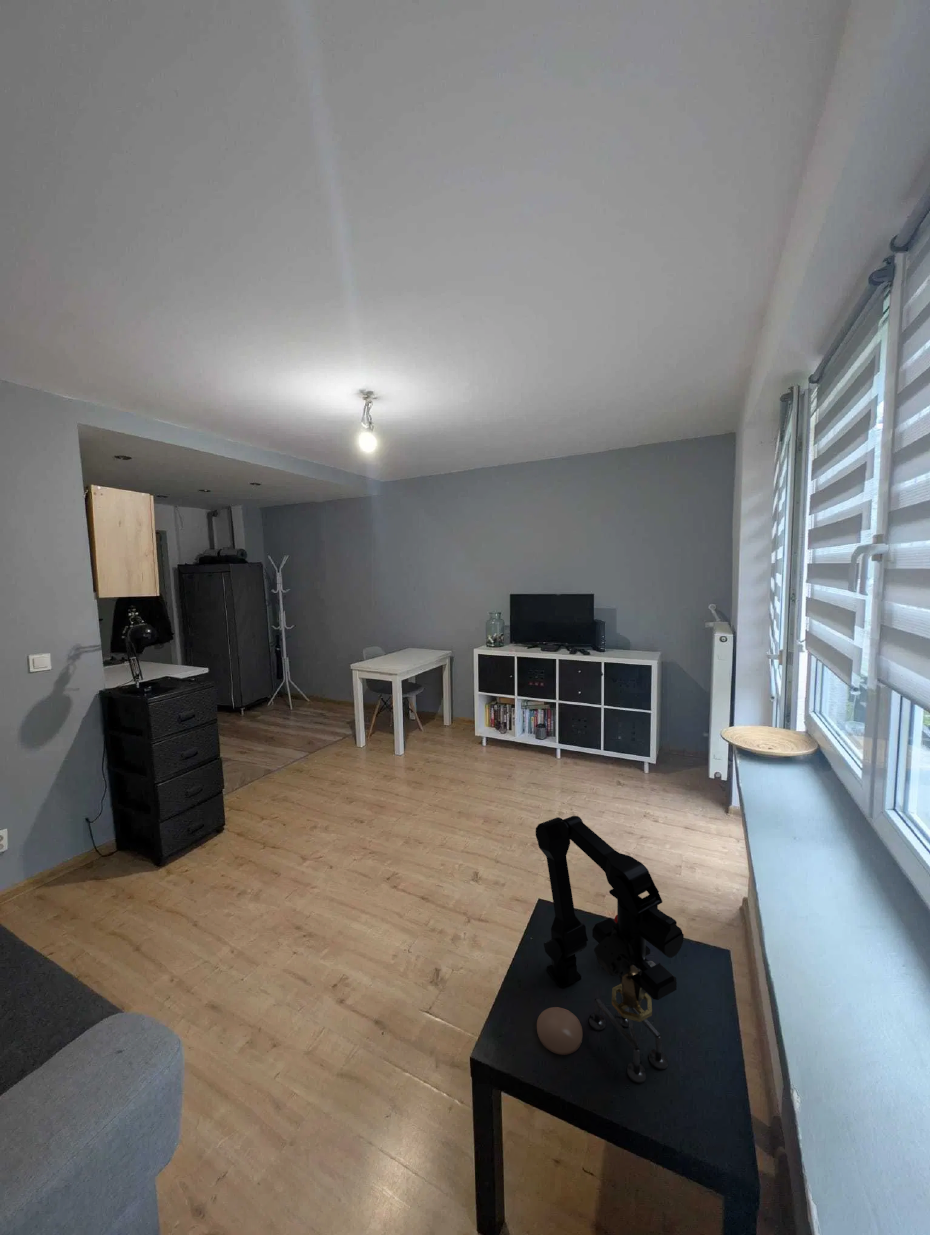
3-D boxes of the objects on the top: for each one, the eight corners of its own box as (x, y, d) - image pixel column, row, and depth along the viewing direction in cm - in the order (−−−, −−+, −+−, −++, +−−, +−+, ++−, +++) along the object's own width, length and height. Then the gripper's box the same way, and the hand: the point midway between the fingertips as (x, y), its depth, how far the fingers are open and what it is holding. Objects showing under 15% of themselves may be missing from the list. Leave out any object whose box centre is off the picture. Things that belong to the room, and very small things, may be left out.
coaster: (528, 1021, 107) (528, 1017, 106) (564, 1004, 111) (564, 1000, 111) (553, 1062, 97) (553, 1058, 97) (591, 1042, 102) (591, 1038, 101)
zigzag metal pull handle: (585, 1019, 107) (585, 995, 106) (618, 1002, 111) (618, 980, 110) (636, 1086, 93) (636, 1059, 92) (671, 1064, 97) (671, 1038, 96)
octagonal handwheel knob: (604, 995, 102) (604, 965, 101) (631, 981, 105) (631, 952, 104) (631, 1027, 94) (631, 995, 94) (660, 1010, 98) (660, 979, 97)
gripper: (572, 907, 103) (573, 973, 104) (636, 971, 86) (636, 1048, 88) (611, 892, 108) (611, 955, 109) (678, 949, 91) (678, 1023, 92)
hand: (631, 991), depth 99 cm, fingers closed on octagonal handwheel knob, 4 cm apart
